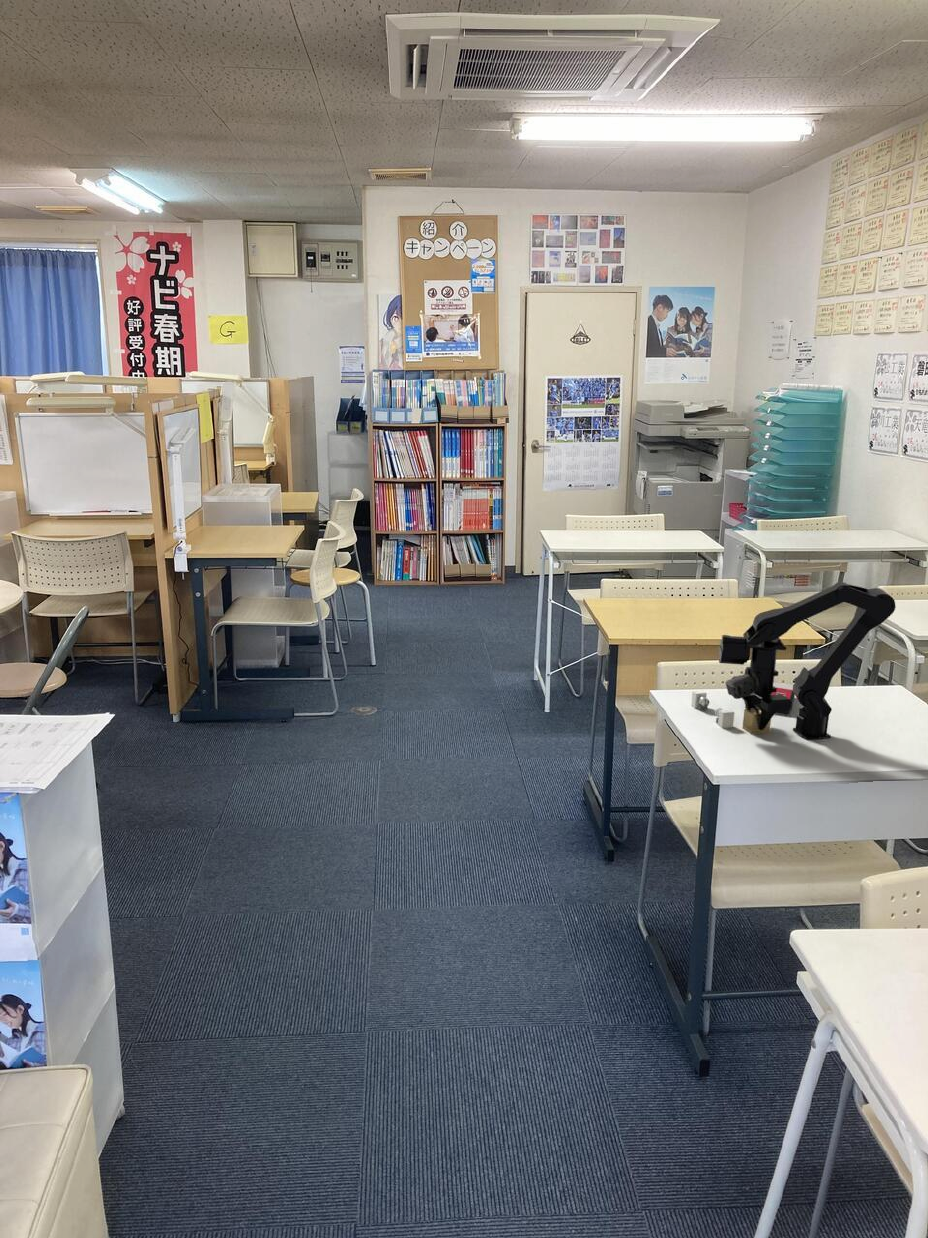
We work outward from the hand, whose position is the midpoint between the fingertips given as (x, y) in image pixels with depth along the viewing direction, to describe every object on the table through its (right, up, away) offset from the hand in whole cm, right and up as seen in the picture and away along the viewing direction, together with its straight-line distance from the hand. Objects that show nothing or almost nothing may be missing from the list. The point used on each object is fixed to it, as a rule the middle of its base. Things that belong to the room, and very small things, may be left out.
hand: (756, 726), depth 225 cm
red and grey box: (+10, +3, +20) cm, 22 cm away
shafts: (-8, +2, +9) cm, 13 cm away
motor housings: (-8, +2, +9) cm, 13 cm away
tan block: (0, -1, 0) cm, 1 cm away
